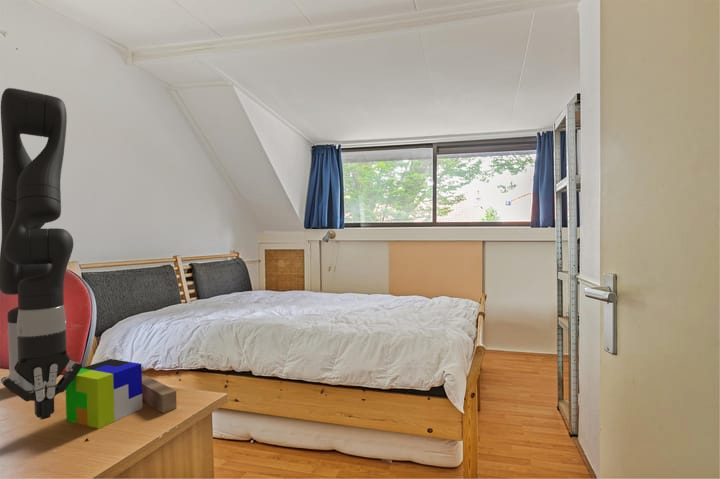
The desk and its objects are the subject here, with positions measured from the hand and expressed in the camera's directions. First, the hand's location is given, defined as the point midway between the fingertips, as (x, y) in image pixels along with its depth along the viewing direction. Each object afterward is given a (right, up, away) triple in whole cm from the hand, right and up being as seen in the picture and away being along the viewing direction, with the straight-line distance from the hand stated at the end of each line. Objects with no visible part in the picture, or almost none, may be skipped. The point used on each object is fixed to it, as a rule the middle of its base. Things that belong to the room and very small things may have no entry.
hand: (44, 417), depth 79 cm
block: (+13, -3, +16) cm, 20 cm away
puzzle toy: (+7, -3, +8) cm, 11 cm away
